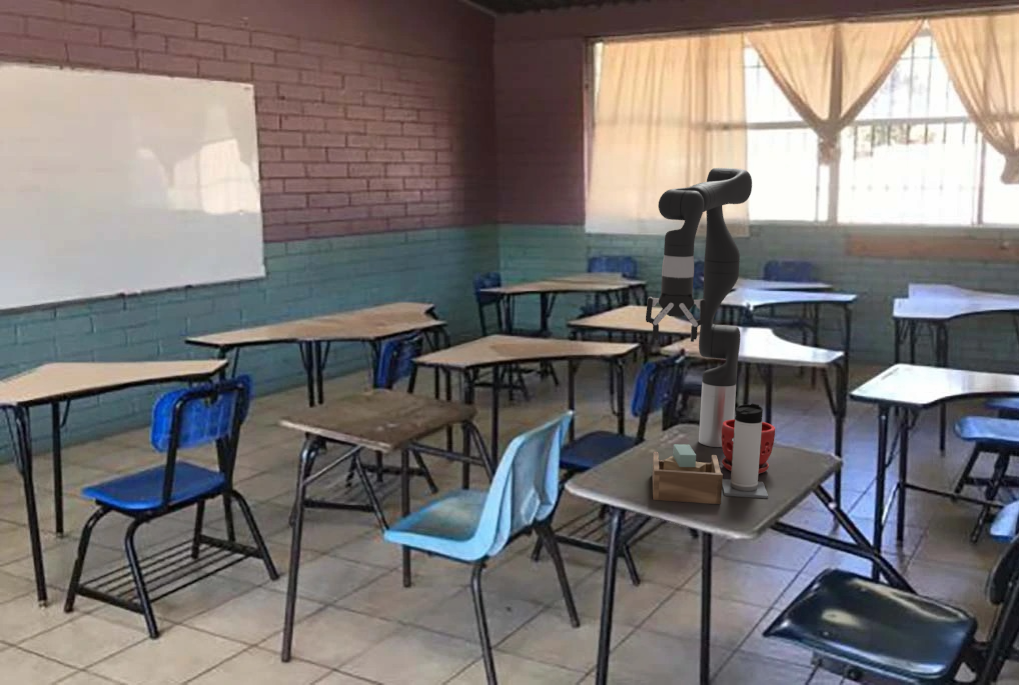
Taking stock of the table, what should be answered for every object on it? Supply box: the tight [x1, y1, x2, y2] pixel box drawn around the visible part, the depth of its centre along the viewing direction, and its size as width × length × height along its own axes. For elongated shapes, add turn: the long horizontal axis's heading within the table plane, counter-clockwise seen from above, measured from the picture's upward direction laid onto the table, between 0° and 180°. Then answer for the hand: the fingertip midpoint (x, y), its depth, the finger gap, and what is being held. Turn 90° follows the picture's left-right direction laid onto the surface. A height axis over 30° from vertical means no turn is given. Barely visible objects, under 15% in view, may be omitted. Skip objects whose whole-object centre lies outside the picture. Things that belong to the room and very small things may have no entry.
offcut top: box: [672, 444, 697, 467], centre depth 233 cm, size 4×8×3 cm, turn 1°
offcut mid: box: [663, 455, 706, 472], centre depth 234 cm, size 4×9×3 cm, turn 55°
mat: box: [722, 478, 769, 499], centre depth 231 cm, size 10×10×1 cm
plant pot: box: [721, 418, 776, 475], centre depth 245 cm, size 13×13×12 cm
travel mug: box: [730, 403, 764, 491], centre depth 229 cm, size 6×7×20 cm
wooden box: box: [651, 451, 724, 505], centre depth 230 cm, size 18×15×7 cm
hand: (674, 340), depth 234 cm, fingers open, 8 cm apart
